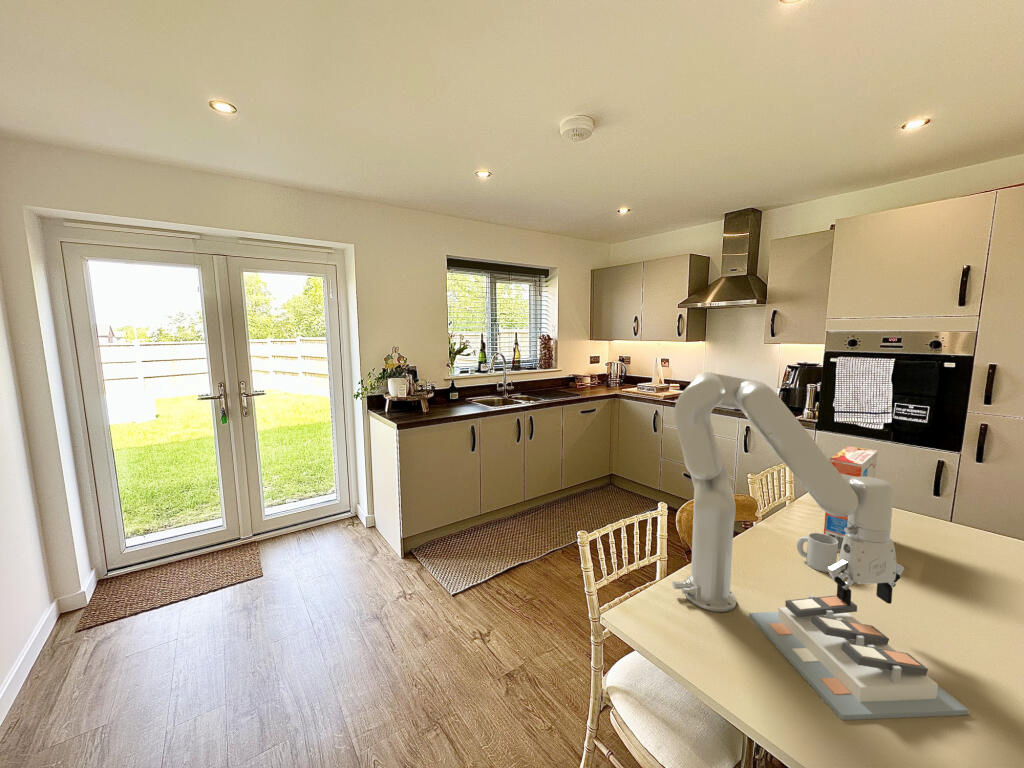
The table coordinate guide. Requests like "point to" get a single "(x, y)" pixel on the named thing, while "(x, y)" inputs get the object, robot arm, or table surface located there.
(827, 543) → the cup
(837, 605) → the rocker
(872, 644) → the switch unit
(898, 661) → the rocker
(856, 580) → the robot arm
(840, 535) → the orange cereal box
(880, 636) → the rocker
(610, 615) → the table surface
